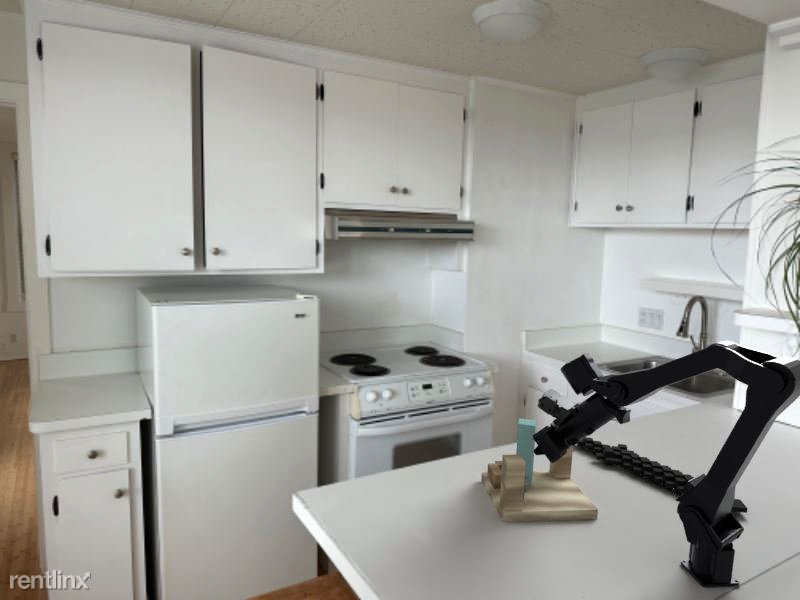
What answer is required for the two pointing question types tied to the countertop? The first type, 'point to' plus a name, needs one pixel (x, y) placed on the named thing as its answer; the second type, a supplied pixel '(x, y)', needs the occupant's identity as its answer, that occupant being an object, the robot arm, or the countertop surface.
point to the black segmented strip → (644, 467)
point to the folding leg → (526, 447)
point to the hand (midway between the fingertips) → (535, 452)
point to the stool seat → (536, 491)
